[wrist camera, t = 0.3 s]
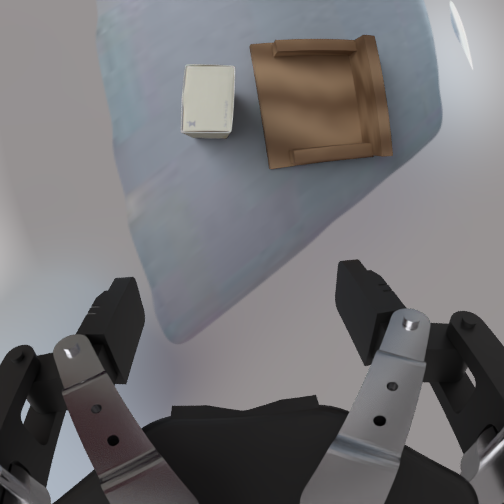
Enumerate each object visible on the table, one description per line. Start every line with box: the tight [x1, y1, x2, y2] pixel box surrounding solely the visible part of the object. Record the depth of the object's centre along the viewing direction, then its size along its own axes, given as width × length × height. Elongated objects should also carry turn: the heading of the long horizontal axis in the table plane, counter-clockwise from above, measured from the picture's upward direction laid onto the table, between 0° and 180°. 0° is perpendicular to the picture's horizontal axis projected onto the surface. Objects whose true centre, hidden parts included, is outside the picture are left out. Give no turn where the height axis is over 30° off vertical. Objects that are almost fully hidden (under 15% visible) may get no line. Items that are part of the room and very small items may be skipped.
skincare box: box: [181, 64, 235, 139], centre depth 29 cm, size 6×4×12 cm
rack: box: [250, 35, 393, 169], centre depth 32 cm, size 16×14×6 cm
